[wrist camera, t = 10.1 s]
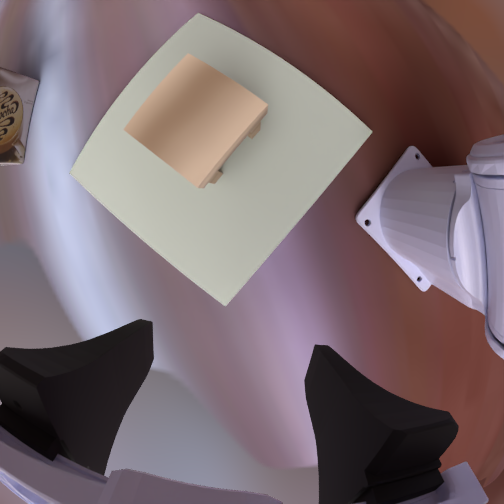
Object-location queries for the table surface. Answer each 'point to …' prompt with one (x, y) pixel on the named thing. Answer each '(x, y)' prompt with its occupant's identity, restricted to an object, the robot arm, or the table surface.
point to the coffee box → (15, 114)
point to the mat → (234, 169)
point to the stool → (197, 120)
